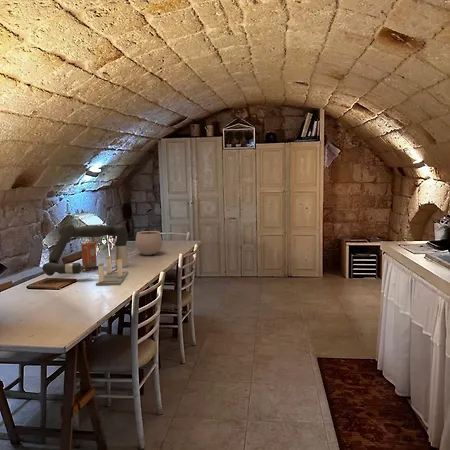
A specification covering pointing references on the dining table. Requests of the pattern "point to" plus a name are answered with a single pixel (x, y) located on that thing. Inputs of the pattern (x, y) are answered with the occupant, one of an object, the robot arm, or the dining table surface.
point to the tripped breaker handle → (119, 267)
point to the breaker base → (109, 275)
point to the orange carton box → (89, 254)
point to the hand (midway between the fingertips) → (98, 267)
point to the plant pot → (148, 242)
